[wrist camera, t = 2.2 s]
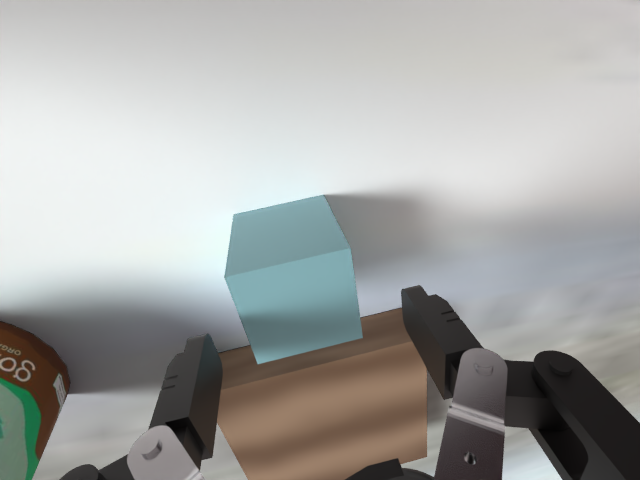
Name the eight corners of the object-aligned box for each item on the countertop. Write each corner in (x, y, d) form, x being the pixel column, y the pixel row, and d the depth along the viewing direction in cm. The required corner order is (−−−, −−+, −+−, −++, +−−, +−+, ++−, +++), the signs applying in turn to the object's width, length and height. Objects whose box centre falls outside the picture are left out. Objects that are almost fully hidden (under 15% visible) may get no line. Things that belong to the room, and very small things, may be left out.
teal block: (233, 214, 18) (224, 277, 13) (323, 194, 18) (350, 247, 13) (257, 286, 20) (257, 364, 15) (335, 268, 21) (362, 337, 15)
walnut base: (208, 355, 22) (202, 394, 20) (407, 306, 23) (426, 337, 20) (260, 463, 29) (261, 503, 26) (412, 422, 30) (426, 456, 27)
